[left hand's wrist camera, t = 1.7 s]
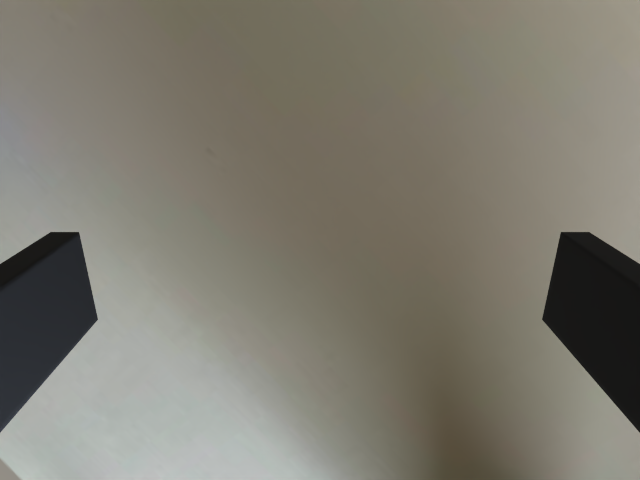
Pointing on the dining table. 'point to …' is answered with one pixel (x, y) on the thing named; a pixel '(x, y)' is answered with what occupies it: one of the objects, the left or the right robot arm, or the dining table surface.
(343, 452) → the dining table surface
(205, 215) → the dining table surface
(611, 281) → the left robot arm
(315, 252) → the dining table surface
